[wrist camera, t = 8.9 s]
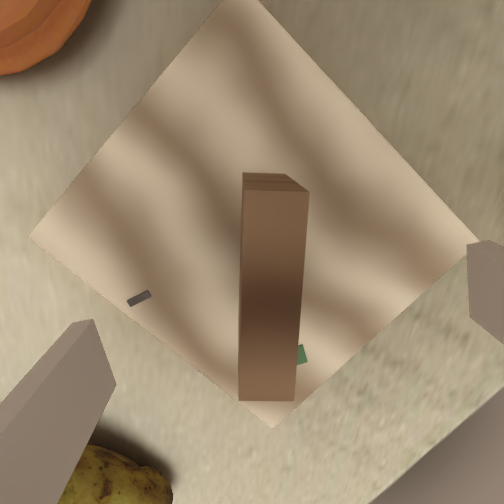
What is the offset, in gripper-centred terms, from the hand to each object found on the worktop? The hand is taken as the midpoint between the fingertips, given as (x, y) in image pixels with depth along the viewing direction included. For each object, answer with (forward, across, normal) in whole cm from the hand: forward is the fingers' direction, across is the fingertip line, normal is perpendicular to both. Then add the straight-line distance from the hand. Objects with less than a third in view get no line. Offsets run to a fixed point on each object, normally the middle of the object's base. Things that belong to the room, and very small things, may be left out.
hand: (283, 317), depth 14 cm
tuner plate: (+14, 0, 0) cm, 14 cm away
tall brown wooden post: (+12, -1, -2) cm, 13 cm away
